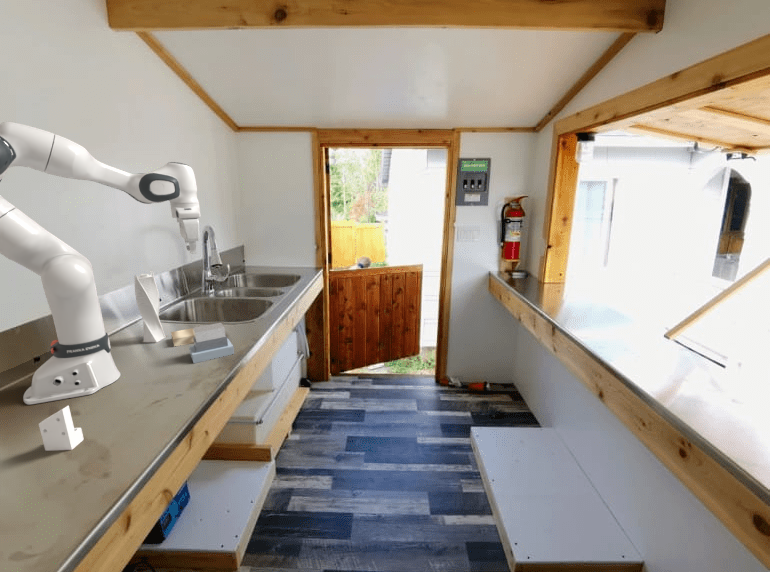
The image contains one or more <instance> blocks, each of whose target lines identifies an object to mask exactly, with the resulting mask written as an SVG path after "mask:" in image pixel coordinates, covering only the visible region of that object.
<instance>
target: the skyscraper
mask: <svg viewBox="0 0 770 572" xmlns="http://www.w3.org/2000/svg"><path fill="white" fill-rule="evenodd" d="M134 294H135V301H136V305H137V309H138V311H139V314H140V316H141V318H142V321H143V322H142V323H143V327H142V328H143V339H142V340H141V341H139V342H140V343H143V344H144V343H146V344H150V343H151V344H153V343H154V344H157V343H159V342H161V341H163V340H164V339H167V338H168V337H169V335H165V332H164V328H163V326H162V323H161V321H160V320H161V319H160V317H159V315H160V304H161V303H160V293H159V289H158V285H157V283H156V278H155V273H154V270H153V269H150V271H149V273H141V274H139V275H135V274H134Z"/></svg>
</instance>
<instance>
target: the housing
mask: <svg viewBox="0 0 770 572" xmlns="http://www.w3.org/2000/svg"><path fill="white" fill-rule="evenodd" d="M192 328H193V332H194V337H193V342H194V343H193V345H194V347H195V350H196V352H202V351H206V350H211V349H216V348H220V347H225V346H228V342H227V339H228V337H227V334H226V328H225V326H224V325H223V323H222V322H216V323H211V324H206V325H205V324H204V325H200V326H195V327H192Z"/></svg>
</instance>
